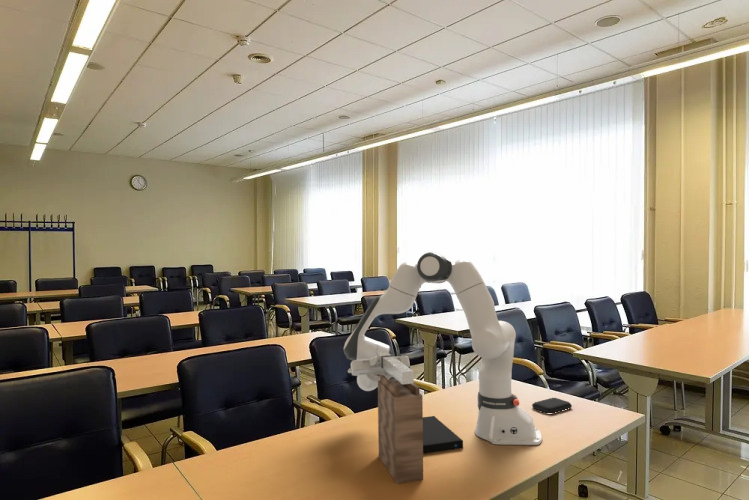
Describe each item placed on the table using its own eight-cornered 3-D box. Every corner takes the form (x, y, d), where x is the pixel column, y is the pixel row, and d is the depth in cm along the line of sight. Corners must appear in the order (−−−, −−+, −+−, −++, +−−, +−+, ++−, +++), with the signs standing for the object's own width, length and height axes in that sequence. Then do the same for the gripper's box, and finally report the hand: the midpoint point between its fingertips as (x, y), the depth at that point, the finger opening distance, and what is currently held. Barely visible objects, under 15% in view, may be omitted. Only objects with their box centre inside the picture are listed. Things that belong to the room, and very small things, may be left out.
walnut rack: (378, 456, 149) (377, 374, 149) (402, 452, 151) (401, 372, 151) (396, 483, 132) (395, 391, 132) (423, 479, 134) (422, 388, 134)
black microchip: (551, 402, 199) (527, 408, 192) (551, 395, 199) (527, 401, 192) (574, 409, 190) (549, 416, 182) (574, 402, 190) (549, 409, 182)
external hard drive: (434, 423, 177) (434, 415, 177) (463, 449, 154) (463, 440, 154) (398, 428, 173) (398, 420, 173) (422, 455, 150) (422, 445, 150)
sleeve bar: (376, 363, 158) (376, 351, 158) (387, 362, 159) (386, 351, 159) (401, 385, 133) (401, 371, 133) (414, 383, 134) (414, 370, 134)
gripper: (345, 364, 165) (353, 351, 153) (401, 359, 170) (412, 346, 159) (347, 382, 162) (355, 370, 150) (404, 376, 167) (415, 365, 156)
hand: (385, 358), depth 155 cm, fingers closed on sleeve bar, 3 cm apart
